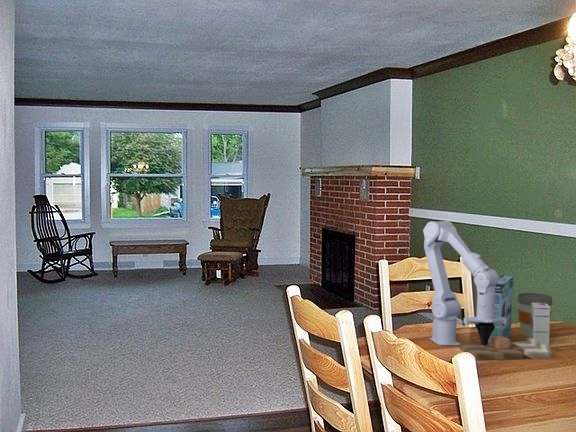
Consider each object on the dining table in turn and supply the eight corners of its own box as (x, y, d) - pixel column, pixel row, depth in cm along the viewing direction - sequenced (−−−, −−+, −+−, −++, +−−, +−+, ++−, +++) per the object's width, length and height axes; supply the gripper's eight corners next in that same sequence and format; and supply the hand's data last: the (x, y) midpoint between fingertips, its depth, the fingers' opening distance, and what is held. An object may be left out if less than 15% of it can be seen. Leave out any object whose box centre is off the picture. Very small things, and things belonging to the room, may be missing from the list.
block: (490, 345, 219) (490, 336, 219) (501, 344, 221) (501, 335, 220) (498, 348, 215) (498, 340, 215) (509, 347, 216) (509, 339, 216)
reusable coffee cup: (550, 332, 248) (551, 294, 247) (552, 340, 236) (553, 300, 235) (515, 329, 252) (517, 291, 251) (516, 336, 240) (517, 297, 239)
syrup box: (549, 346, 227) (551, 306, 226) (532, 345, 228) (533, 305, 227) (546, 342, 232) (548, 303, 231) (529, 341, 233) (530, 302, 233)
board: (459, 348, 222) (460, 338, 221) (529, 347, 225) (529, 337, 225) (477, 360, 208) (477, 349, 208) (551, 358, 211) (551, 348, 211)
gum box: (498, 334, 243) (500, 275, 241) (511, 336, 240) (514, 276, 239) (485, 345, 226) (487, 282, 225) (500, 348, 224) (502, 283, 222)
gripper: (470, 308, 211) (468, 348, 212) (511, 307, 213) (509, 347, 214) (461, 303, 218) (460, 342, 219) (501, 303, 220) (500, 341, 221)
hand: (484, 344), depth 217 cm, fingers closed
